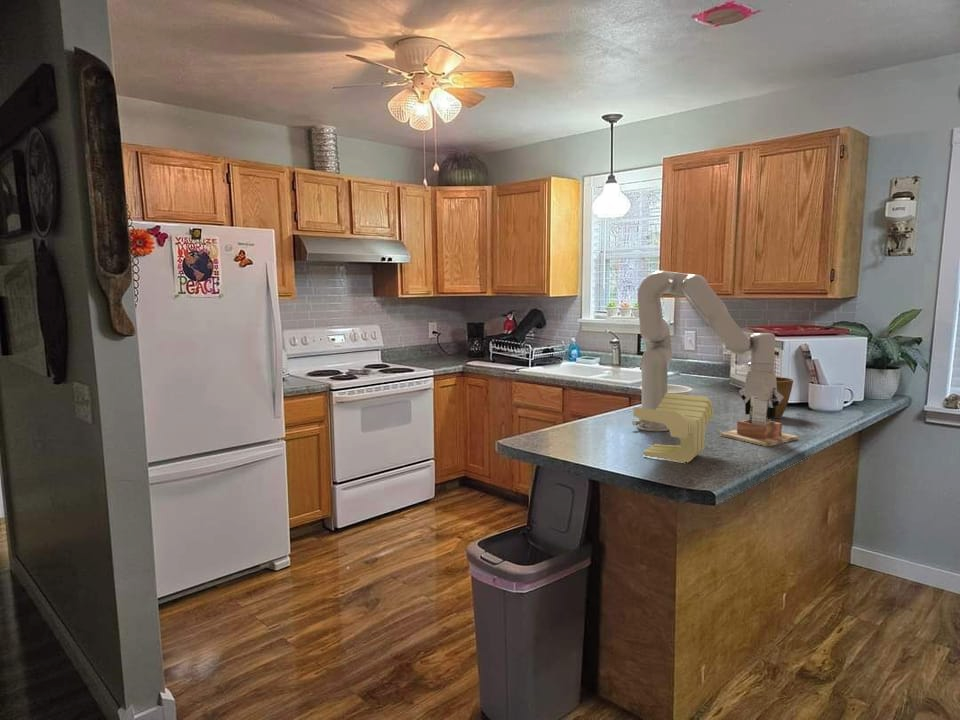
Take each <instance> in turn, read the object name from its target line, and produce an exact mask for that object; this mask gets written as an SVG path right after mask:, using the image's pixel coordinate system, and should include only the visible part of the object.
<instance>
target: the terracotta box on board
mask: <svg viewBox="0 0 960 720" xmlns="http://www.w3.org/2000/svg"><path fill="white" fill-rule="evenodd" d="M736 423H737V425H736V427H737V428H736V429H735V430H734V429H733V430H728V431H724V432H720V436H721V437H723V438H728V439H731V438H732V440H735V439H736V440H735V441H740V442H744V441H745V442H744V443H748V442H749V444H752V443H754V444H753V445H756V444H757V446H760V445H762V446H761V447H765V446H766V447H765V448H768V447H773V446H777V445H781V444H785V443H789V441H790V442H793V440H794V441H798V440H799V437H798V435H793V434H788V433H783V432H782V430H783V423H782V422H778V421H773V420H771V424H769V425H764V426H762V425H757V424H752V423H749V418H748V419H743V420H738V421H737V422H736ZM797 439H798V440H797ZM784 442H785V443H784ZM780 443H781V444H780ZM772 445H773V446H772ZM767 446H768V447H767Z"/></svg>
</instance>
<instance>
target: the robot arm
mask: <svg viewBox="0 0 960 720" xmlns="http://www.w3.org/2000/svg"><path fill="white" fill-rule="evenodd" d="M663 294H666V295H667V294H669V295H676V296H682V297H686V298H687V300H688V301H690V303H691V304H692V305H693V307H694V308H695V309H696V310H697V311H698V313H699V314H700V315H701V316H702V318H703V319H704V321H705V322H706V324H708V325H709V327H710V329H712V331H713V333H714V334H715V335H716V336H717V338H718V339H719V340H720V341H721V342H722V343H723V344H724V346H725V347H726V348H727V349H728V351H730V352H731V353H733V354H736V355H742V354H745V353H746V352H750V362H748V363H747V367H748V368H749V369H750V370H749V369H748V370H747V373H746V377H745V382H744V387H743V388H741V389H739V391H738V392H739V394H740V396H741V399H742V400H743V403H744V404H745V405H744V406H745V407H744V408H745V409H744V411H745V413H744V415H750V404H751V395H756V396H757V397H758V399H759V400H762V401H768V404H769V406H770V407H769V408H768V419H771V420H772V419H776V418H775V412H776V407H777V406H778V405H779V404H780V403H781V402H782V400H783V399H784V397H783V396H782V395H781V394H780V393H779V392H778V391H777V382H776V377H777V375H776V372H775V371H774V370H775V351H776V335H775V334H774V333H772V332H748V331H743V330H742V329H741V328H740V326H739V325H738V323H736V321H735V320H734V319H733V318H732V316H731V314H730V312H729V310H728V308H727V305H726V304H725V302H724V301H723V300H722V299H721V298H720V297H719V295H717V293H716V292H715V291H714V290H713V289H712V287H711V286H710V285H709V284H708V281H707V279H706V278H705V277H704V276H702V275H700V274H693V273H683V272H674V271H668V270H667V271H666V270H656V271H654V272H652V273H650V274H649V275H647V276H646V277H645V278H644V279H643V280H642V282H641V283H640V286H639V288H638V290H637V308H638V320H639V331H640V333H639V334H640V336H641V338H642V339H643V340H644V341H645V345H646V346H645V347H646V350H645V351H644V352H643V354H642V355H641V359H640V366H641V367H640V368H641V370H640V371H641V386H642V390H641V405H640V406H641V407H640V408H644V409H654V410H656V408H658V406H659V404H660V403H661V401H662V399H664V395H665V393H667V392H668V384H669V383H668V381H669V377H668V375H669V374H668V366H669V365H670V364H671V363H672V359H673V352H672V351H673V350H672V343H671V332H670V327H669V324H668V322H667V321H666V320H665V319H664V318H663V311H662V310H663V307H662V302H661V298H662V295H663ZM776 397H777V400H776V401H775V399H776ZM631 422H632V425H633V426H634V427H635V426H636V428H637V429H639V430H641V431H645V432H667V431H669V429H668V428H667V426H665V425H664V424H661V423H657V422H651V421H645V420H643V419H640V418H637V419H636V420H635V419H634V420H632V421H631Z"/></svg>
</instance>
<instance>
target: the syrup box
mask: <svg viewBox="0 0 960 720" xmlns="http://www.w3.org/2000/svg"><path fill="white" fill-rule="evenodd" d="M769 407H770V406H769V404H768V401H762V400H759V399H758V397H757V396H756V395H751V404H750V414H749V418H748V419H749V423H752V424H757V425H762V426H764V425H769V424H771V421H772V419H768V408H769Z"/></svg>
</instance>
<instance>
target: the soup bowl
mask: <svg viewBox="0 0 960 720" xmlns="http://www.w3.org/2000/svg"><path fill="white" fill-rule="evenodd" d="M638 389H639V390H641V391H642V385H640V386H639V387H638ZM692 391H693V388H691V387H690V386H686V385H679V384H671V383H670V384H669V383H668V392H667V393H673V394H684V395H689V393H690V392H692Z"/></svg>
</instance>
